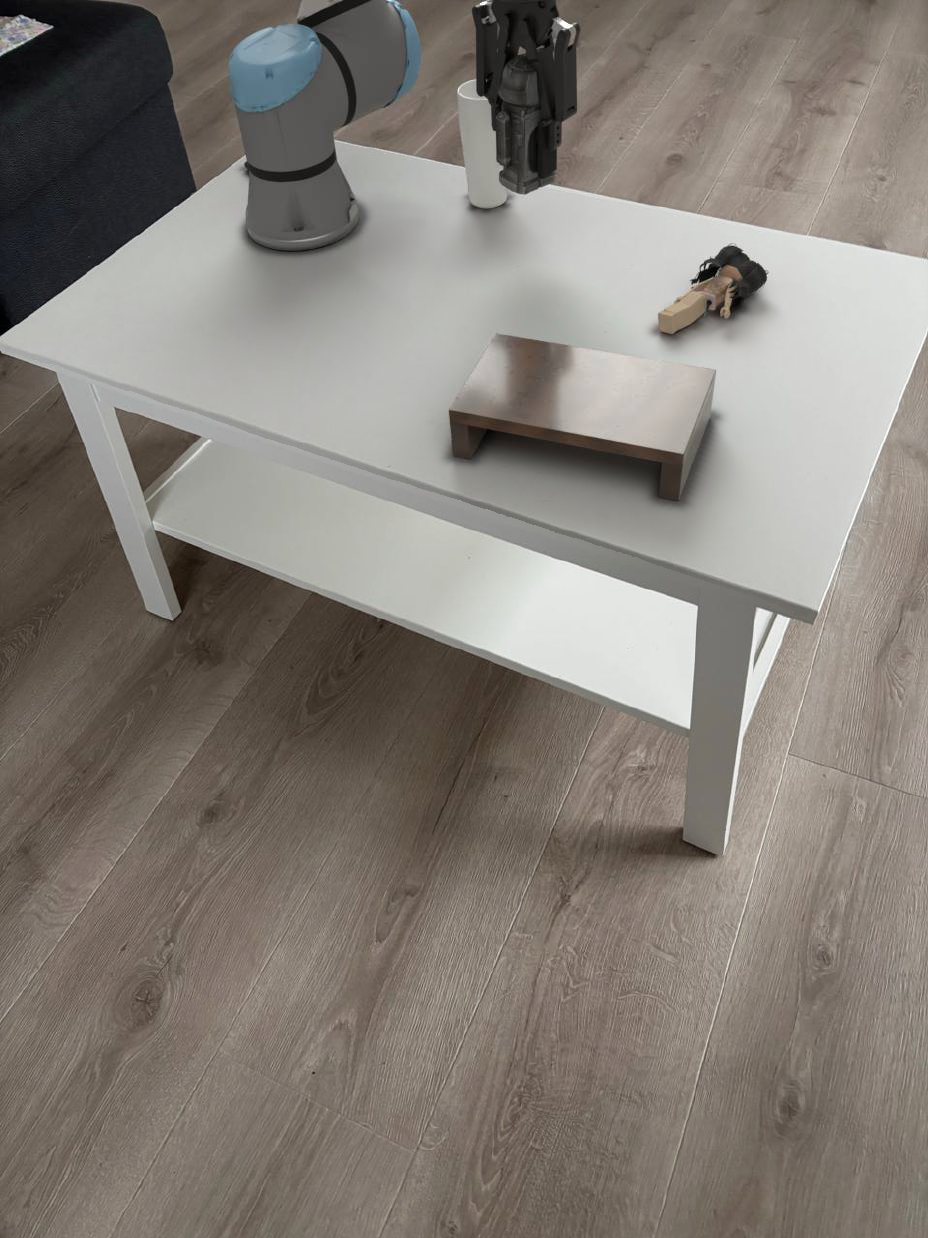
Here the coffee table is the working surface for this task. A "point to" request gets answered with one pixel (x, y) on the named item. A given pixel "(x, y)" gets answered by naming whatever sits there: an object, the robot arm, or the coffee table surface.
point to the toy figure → (715, 289)
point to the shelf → (587, 403)
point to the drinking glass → (479, 148)
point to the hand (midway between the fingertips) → (526, 165)
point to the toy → (519, 128)
